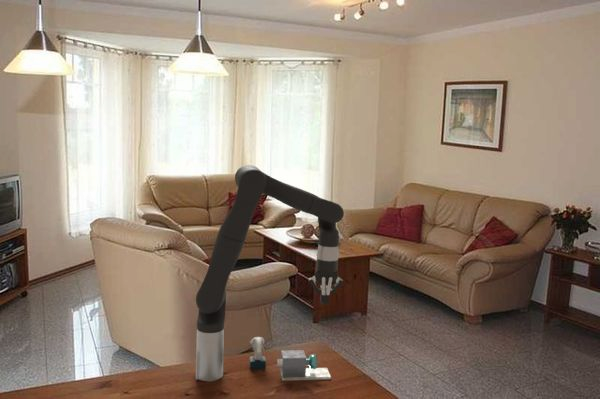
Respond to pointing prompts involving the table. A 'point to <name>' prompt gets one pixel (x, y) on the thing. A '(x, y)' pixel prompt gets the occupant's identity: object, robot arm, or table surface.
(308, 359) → the shaft
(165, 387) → the table surface
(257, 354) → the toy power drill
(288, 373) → the shaft housing
